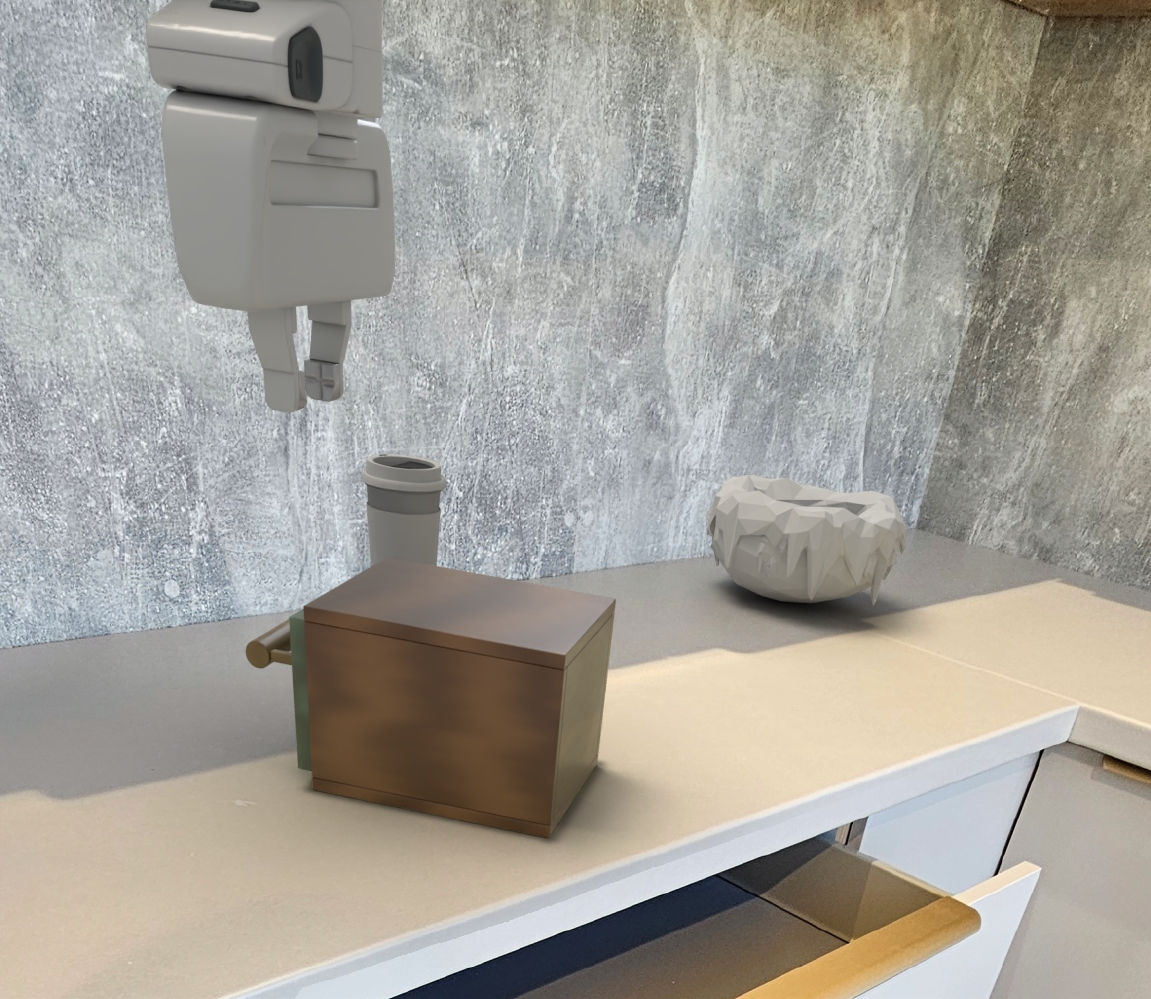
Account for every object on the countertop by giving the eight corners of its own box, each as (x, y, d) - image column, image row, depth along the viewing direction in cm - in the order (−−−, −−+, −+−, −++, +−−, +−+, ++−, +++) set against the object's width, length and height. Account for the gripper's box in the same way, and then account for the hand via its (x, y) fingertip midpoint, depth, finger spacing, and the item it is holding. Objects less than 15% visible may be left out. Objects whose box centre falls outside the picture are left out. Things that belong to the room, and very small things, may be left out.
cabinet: (312, 790, 73) (302, 605, 66) (387, 723, 83) (386, 556, 76) (548, 838, 72) (565, 654, 64) (597, 764, 81) (616, 598, 74)
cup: (410, 609, 104) (411, 451, 96) (459, 630, 101) (464, 468, 93) (346, 619, 100) (342, 454, 92) (396, 641, 97) (395, 472, 89)
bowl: (679, 605, 115) (697, 487, 108) (706, 562, 130) (724, 455, 123) (886, 642, 113) (917, 524, 106) (889, 593, 128) (917, 487, 121)
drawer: (233, 756, 74) (219, 603, 68) (312, 698, 83) (305, 559, 77) (516, 813, 72) (527, 661, 66) (565, 748, 81) (578, 609, 75)
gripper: (315, 70, 64) (326, 378, 73) (122, 21, 49) (166, 416, 58) (423, 84, 63) (420, 394, 73) (261, 40, 48) (283, 436, 58)
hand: (306, 404), depth 65 cm, fingers open, 4 cm apart
